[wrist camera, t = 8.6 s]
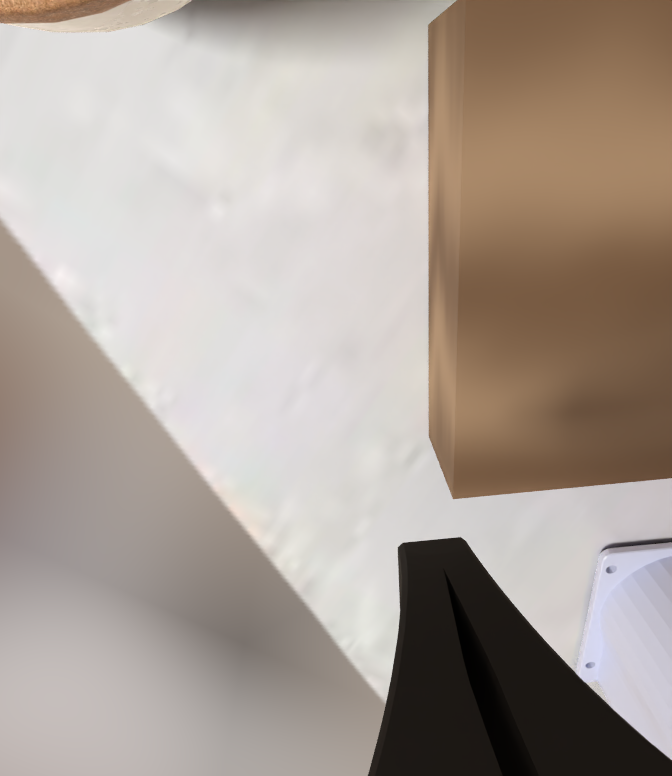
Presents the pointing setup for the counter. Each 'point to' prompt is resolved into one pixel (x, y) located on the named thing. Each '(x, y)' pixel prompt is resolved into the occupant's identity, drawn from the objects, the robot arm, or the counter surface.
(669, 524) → the counter surface
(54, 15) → the lidded jar
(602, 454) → the dark wood platform
